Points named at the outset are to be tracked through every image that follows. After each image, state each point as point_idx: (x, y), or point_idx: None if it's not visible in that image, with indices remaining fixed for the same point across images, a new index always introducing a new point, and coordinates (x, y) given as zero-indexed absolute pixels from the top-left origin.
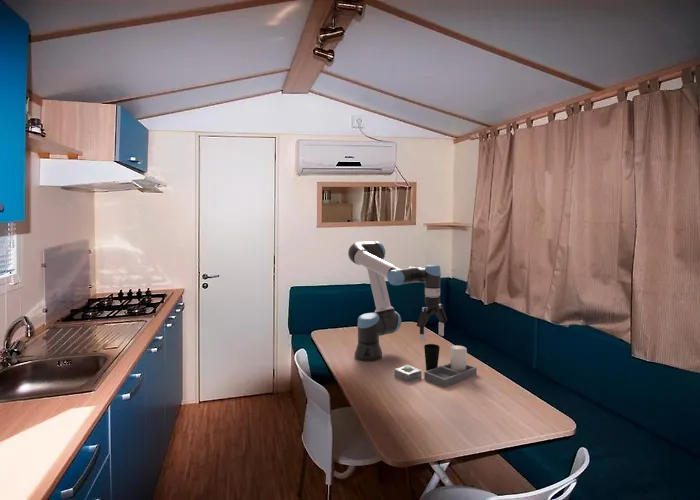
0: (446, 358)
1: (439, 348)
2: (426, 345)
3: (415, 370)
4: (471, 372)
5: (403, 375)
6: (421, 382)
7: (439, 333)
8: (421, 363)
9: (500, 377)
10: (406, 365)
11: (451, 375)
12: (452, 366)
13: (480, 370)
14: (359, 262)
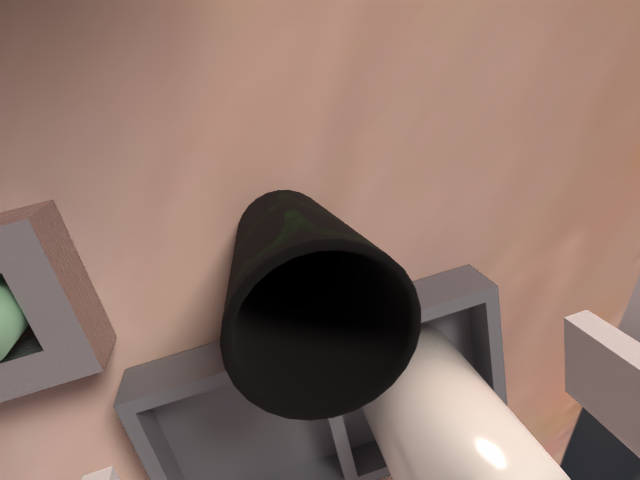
0: (549, 69)
1: (383, 378)
2: (295, 255)
3: (44, 364)
4: None
5: None
6: (72, 412)
7: (584, 351)
8: (283, 74)
9: (554, 458)
10: (4, 230)
11: None
12: (368, 414)
13: (552, 355)
14: None
